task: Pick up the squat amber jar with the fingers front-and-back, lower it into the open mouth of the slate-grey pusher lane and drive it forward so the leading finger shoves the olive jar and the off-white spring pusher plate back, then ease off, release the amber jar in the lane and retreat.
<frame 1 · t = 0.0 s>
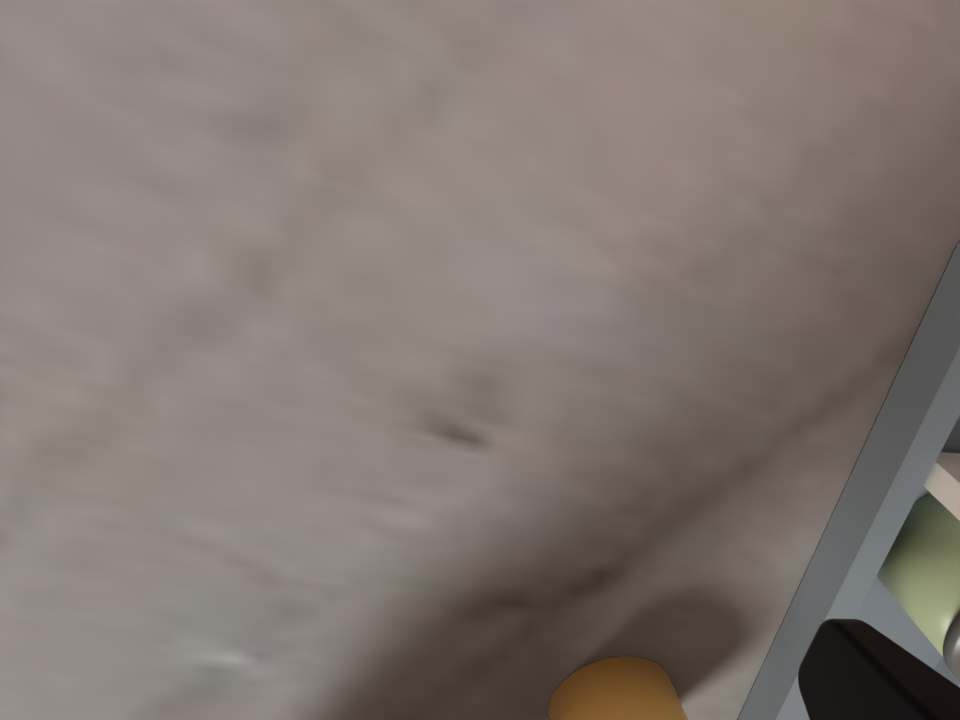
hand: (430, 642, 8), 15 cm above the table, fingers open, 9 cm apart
jar: (610, 701, 32), on the table
jar in lane: (938, 541, 29), point 1 cm above the table, touching lane
lane: (913, 558, 31), on the table
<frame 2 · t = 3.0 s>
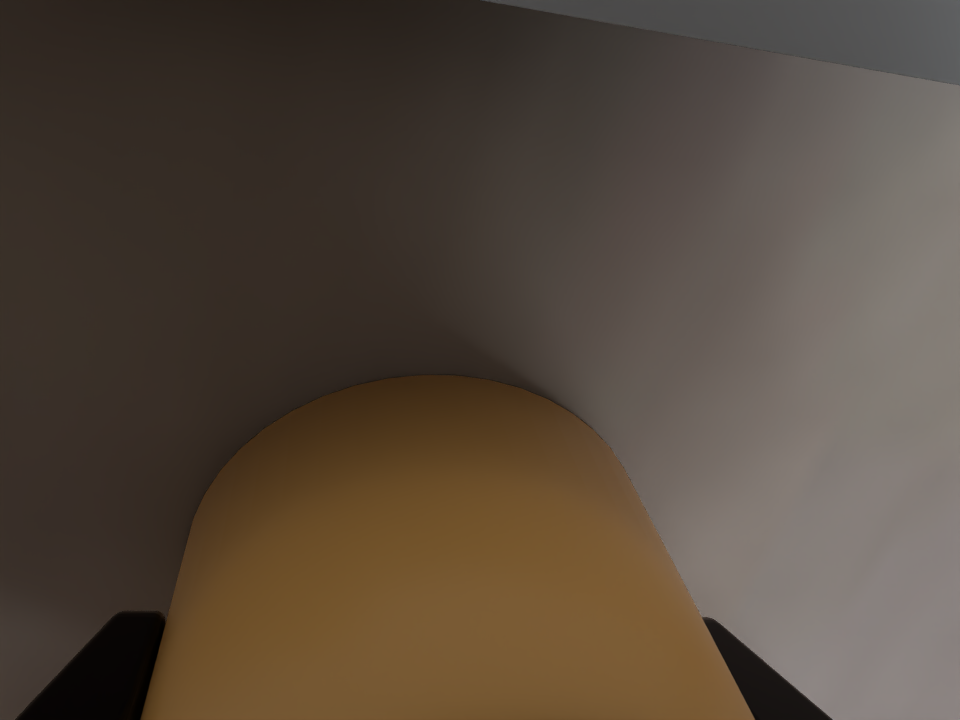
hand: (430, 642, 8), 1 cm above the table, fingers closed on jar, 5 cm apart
jar: (422, 571, 9), on the table, touching gripper
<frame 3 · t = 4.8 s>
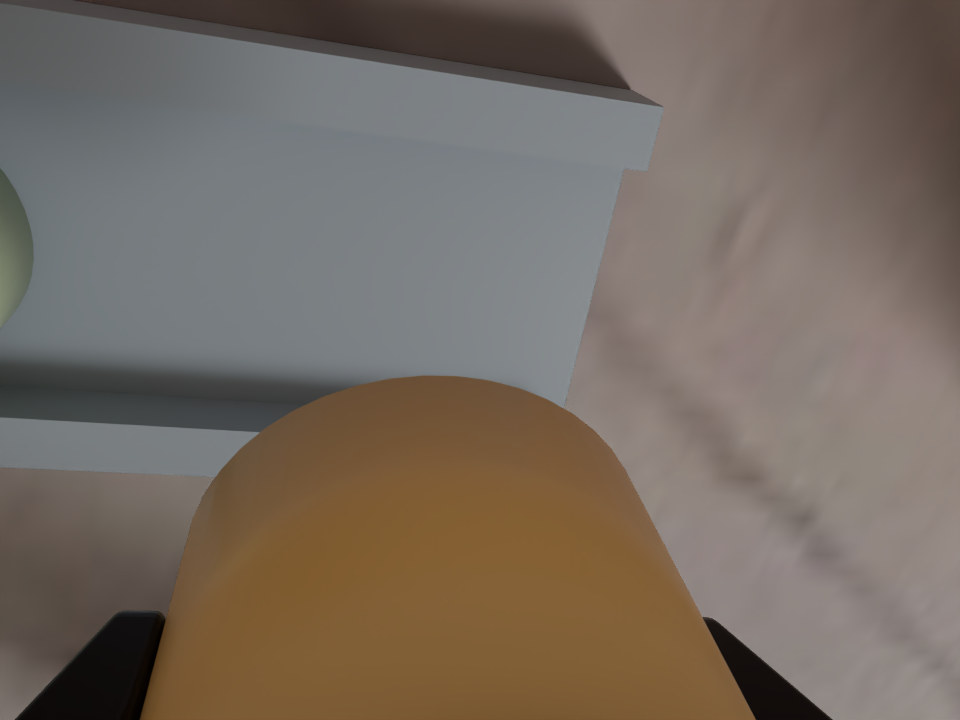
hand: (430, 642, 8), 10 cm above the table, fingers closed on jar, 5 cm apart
jar: (422, 572, 9), point 9 cm above the table, touching gripper
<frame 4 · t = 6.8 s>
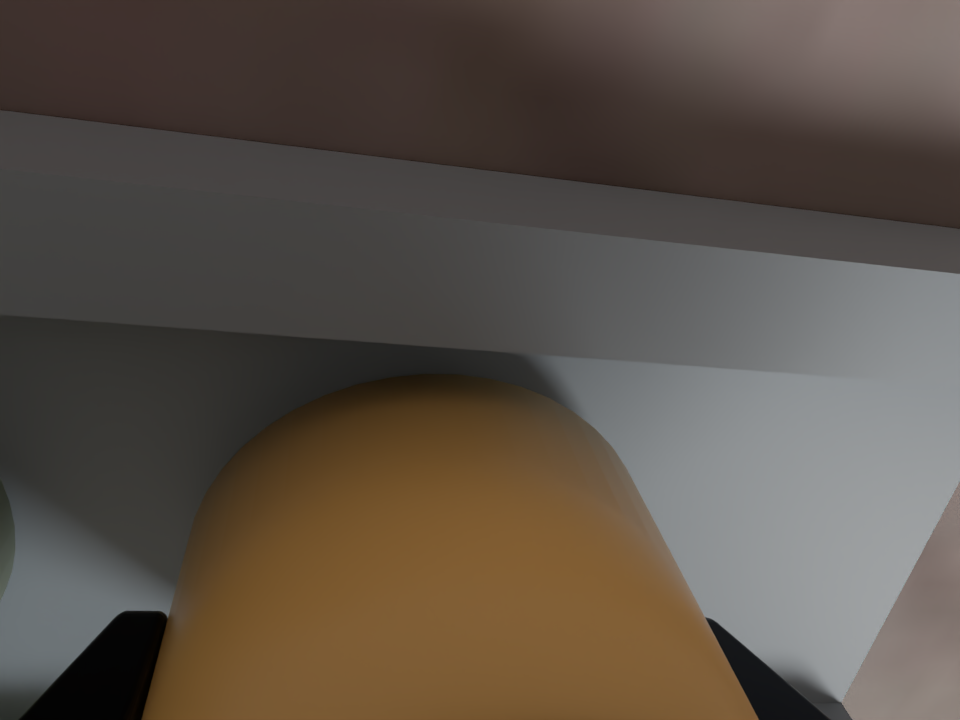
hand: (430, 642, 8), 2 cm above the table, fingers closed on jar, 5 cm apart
jar: (423, 571, 9), point 1 cm above the table, touching gripper
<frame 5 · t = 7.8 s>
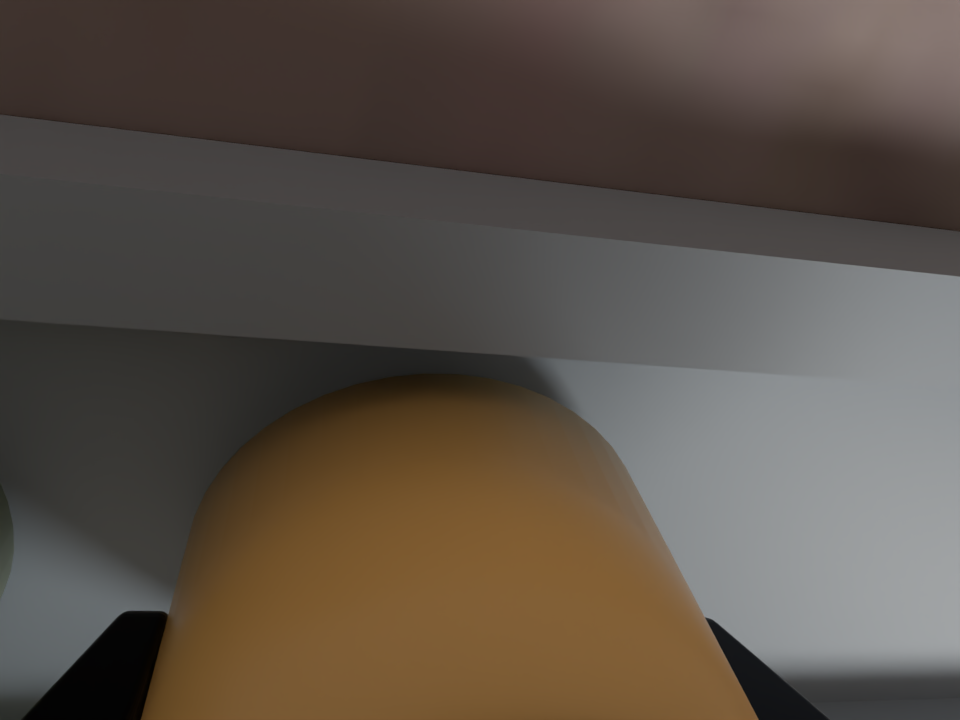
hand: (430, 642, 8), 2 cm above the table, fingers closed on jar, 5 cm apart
jar: (423, 571, 9), point 1 cm above the table, touching gripper
lane: (296, 504, 10), on the table
when the fingers open (2 cm above the table, at t = 9.1 s): jar stays where it is, resting on lane.
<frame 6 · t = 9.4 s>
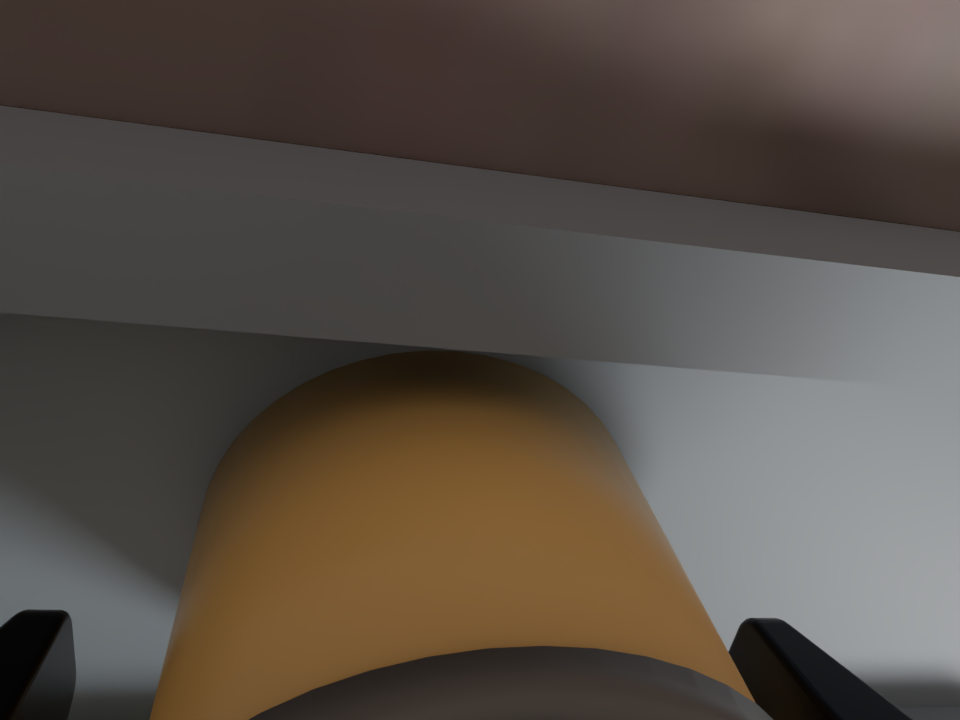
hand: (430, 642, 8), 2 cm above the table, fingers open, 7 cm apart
jar: (423, 540, 10), point 1 cm above the table, touching lane
lane: (207, 499, 10), on the table
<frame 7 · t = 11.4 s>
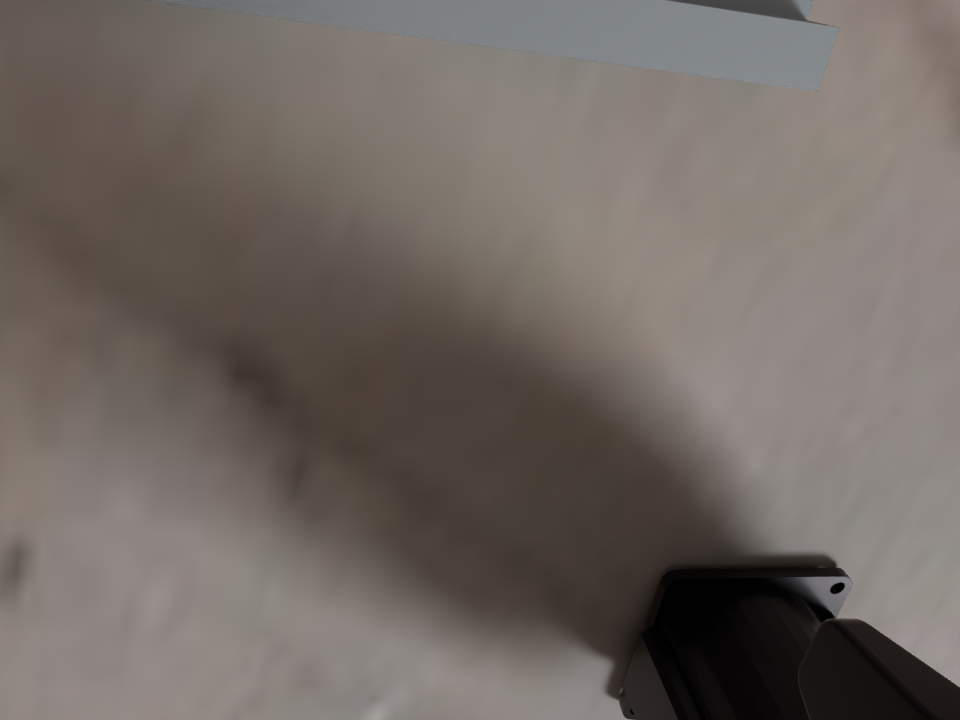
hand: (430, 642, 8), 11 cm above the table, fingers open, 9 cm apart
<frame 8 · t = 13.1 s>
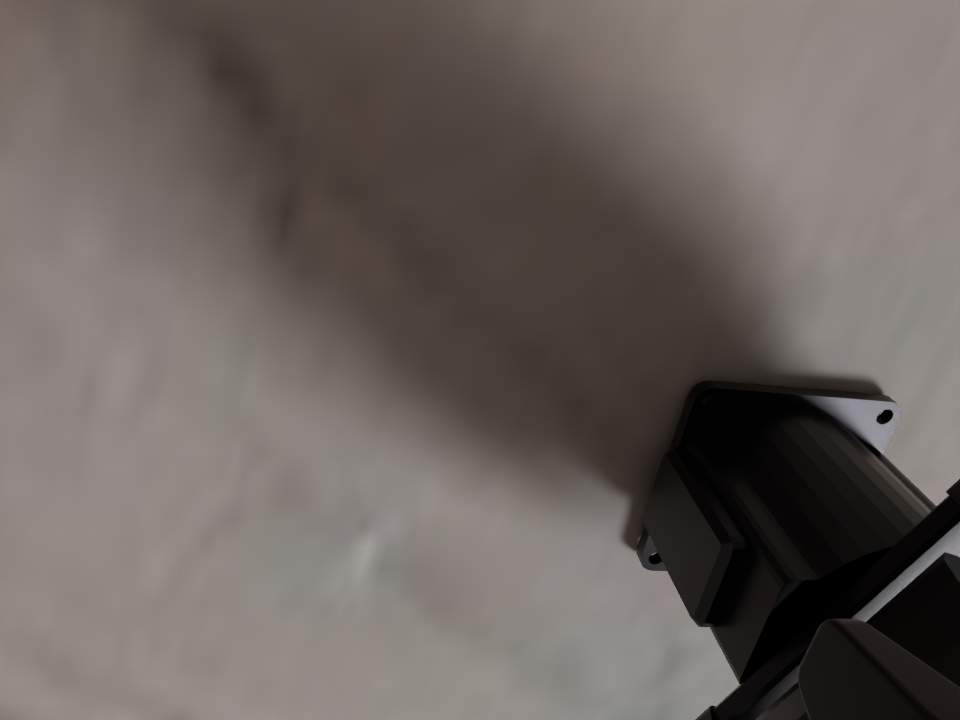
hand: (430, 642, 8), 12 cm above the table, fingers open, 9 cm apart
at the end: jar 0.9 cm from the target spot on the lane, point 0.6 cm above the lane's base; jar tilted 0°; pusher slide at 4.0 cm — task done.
